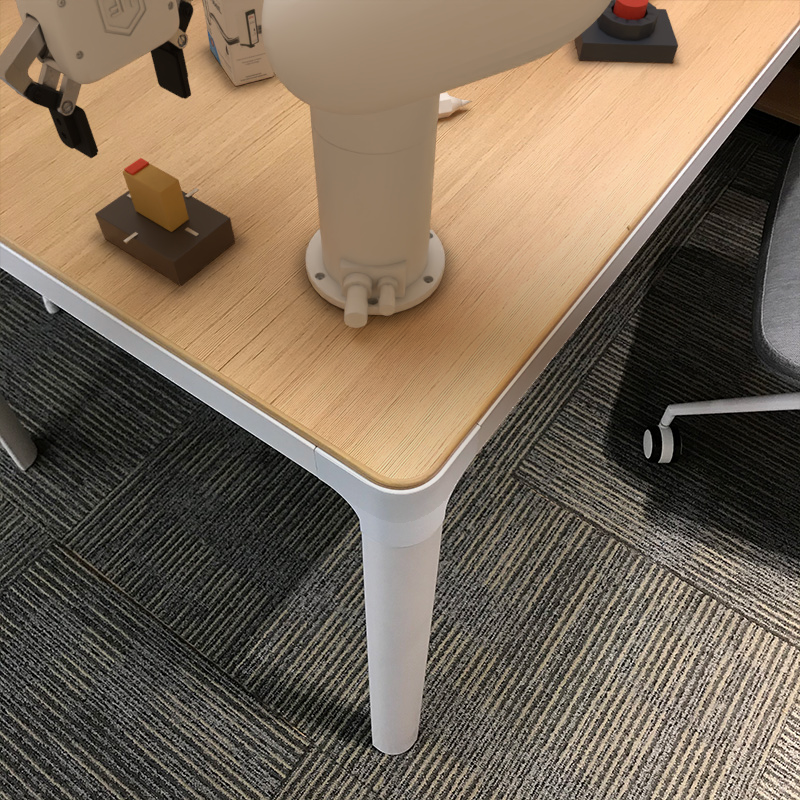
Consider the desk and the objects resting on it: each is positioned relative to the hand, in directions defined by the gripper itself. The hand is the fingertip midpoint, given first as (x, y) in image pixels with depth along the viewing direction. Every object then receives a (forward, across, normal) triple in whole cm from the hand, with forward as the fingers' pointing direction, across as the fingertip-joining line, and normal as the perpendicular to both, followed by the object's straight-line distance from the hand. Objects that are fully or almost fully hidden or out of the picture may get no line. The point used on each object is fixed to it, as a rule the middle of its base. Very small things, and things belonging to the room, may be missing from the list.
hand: (130, 119), depth 61 cm
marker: (+13, +28, -7) cm, 31 cm away
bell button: (+9, +57, -18) cm, 60 cm away
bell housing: (+12, +57, -18) cm, 61 cm away
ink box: (+13, +26, +14) cm, 32 cm away
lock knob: (+10, 0, 0) cm, 10 cm away
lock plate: (+13, 0, 0) cm, 13 cm away
